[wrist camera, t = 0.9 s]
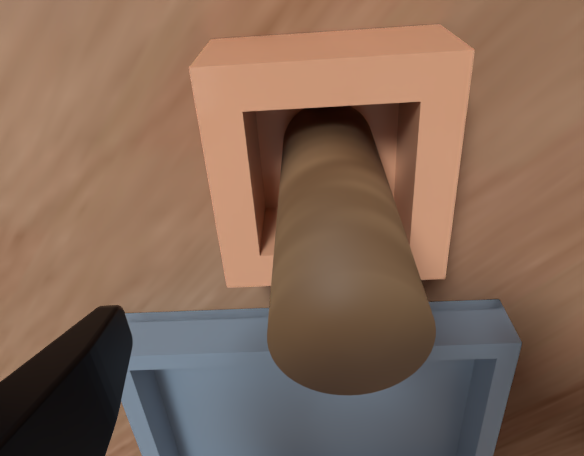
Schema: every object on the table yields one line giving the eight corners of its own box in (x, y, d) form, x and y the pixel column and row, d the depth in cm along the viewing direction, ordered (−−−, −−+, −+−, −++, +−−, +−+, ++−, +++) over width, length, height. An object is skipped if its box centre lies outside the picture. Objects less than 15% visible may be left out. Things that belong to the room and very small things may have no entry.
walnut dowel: (373, 98, 15) (444, 269, 8) (371, 182, 17) (428, 393, 9) (279, 103, 16) (258, 276, 8) (286, 187, 17) (274, 397, 10)
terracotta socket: (440, 24, 15) (474, 49, 12) (422, 221, 18) (445, 278, 15) (210, 39, 15) (189, 67, 12) (238, 230, 19) (226, 287, 16)
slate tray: (499, 299, 20) (522, 342, 18) (462, 477, 27) (475, 524, 25) (124, 313, 21) (104, 357, 19) (179, 483, 28) (169, 529, 26)
